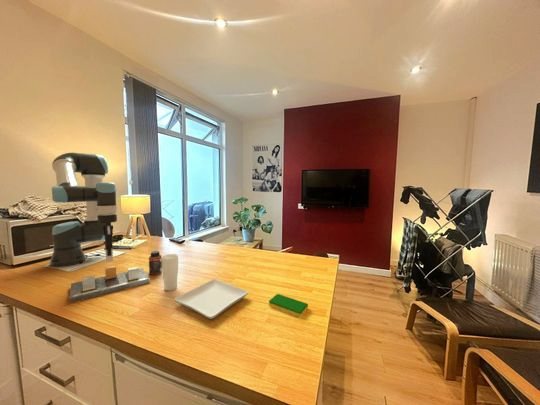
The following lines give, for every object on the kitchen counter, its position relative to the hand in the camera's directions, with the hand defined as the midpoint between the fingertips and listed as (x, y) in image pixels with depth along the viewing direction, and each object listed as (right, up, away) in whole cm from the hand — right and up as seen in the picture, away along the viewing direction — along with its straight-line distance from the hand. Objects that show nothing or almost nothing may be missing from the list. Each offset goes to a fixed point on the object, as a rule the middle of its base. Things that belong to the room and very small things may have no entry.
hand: (109, 261), depth 105 cm
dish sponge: (+86, -13, -22) cm, 90 cm away
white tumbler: (+34, -10, -9) cm, 37 cm away
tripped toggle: (+3, -7, -4) cm, 8 cm away
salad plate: (+56, -12, -19) cm, 60 cm away
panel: (+6, -9, -7) cm, 13 cm away
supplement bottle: (+19, -8, +8) cm, 22 cm away
